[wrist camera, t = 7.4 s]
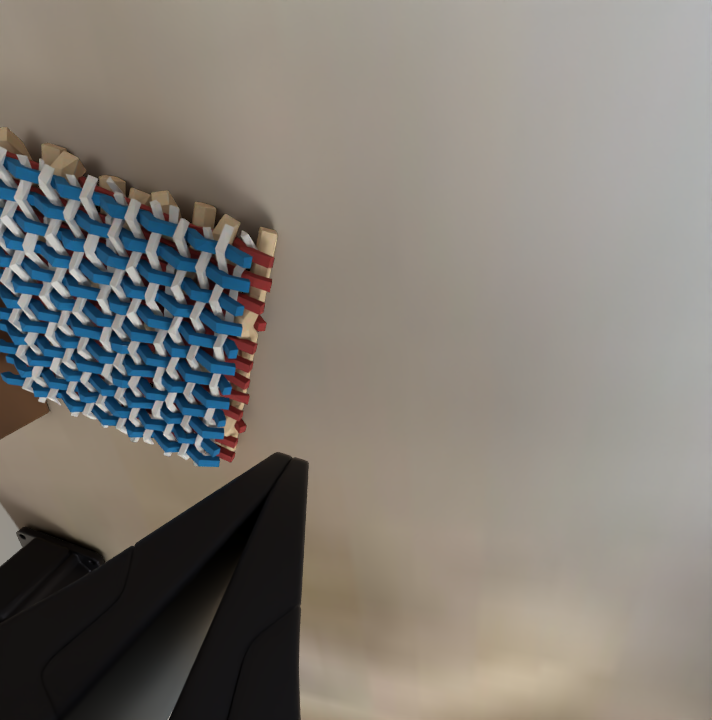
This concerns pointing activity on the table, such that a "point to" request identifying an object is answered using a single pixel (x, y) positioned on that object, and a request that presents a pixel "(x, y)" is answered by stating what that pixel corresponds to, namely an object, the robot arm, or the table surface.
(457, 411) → the table surface
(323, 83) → the table surface
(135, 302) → the woven mat
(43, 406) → the bar
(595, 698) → the table surface
